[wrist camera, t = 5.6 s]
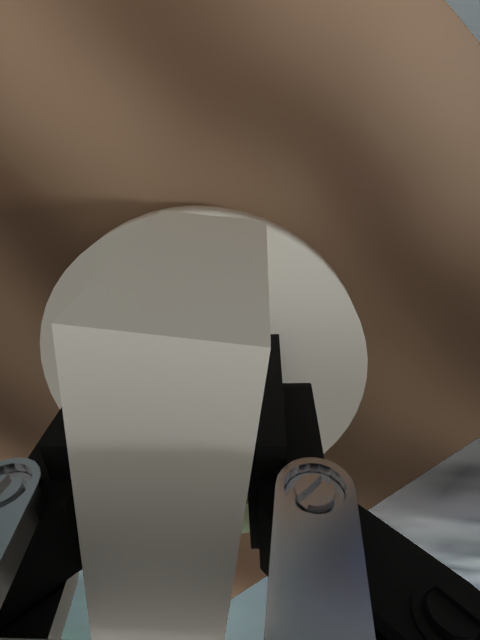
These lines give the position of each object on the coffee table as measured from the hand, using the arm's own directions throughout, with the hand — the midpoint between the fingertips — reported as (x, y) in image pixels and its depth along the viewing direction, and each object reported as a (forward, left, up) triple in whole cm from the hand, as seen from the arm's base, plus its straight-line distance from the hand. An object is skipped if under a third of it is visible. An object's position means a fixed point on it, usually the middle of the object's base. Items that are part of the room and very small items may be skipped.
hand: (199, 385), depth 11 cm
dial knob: (+2, +1, -1) cm, 3 cm away
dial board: (0, 0, -4) cm, 4 cm away
